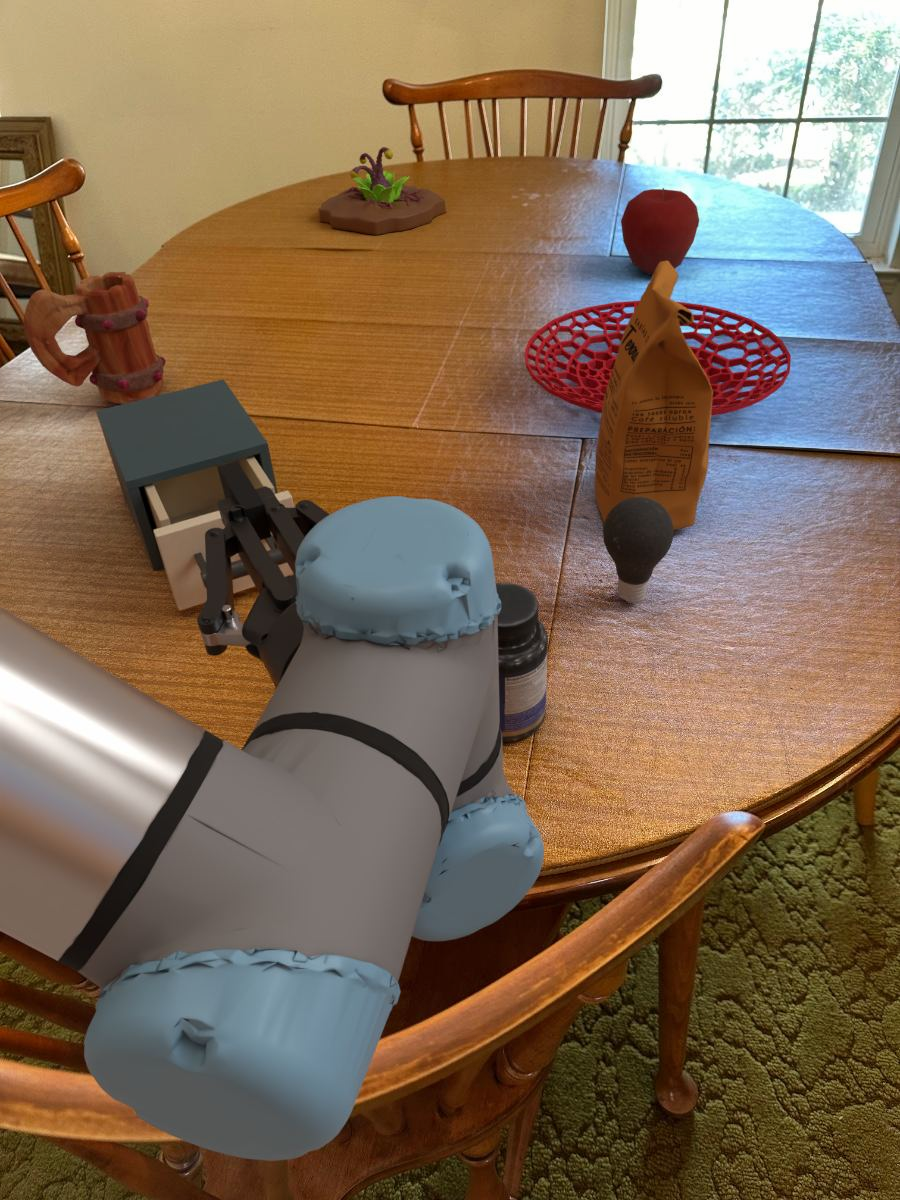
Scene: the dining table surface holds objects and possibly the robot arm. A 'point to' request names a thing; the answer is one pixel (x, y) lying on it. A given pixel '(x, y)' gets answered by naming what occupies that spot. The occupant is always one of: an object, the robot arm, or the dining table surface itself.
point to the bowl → (726, 400)
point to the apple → (659, 228)
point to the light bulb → (637, 543)
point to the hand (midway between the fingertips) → (231, 479)
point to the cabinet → (177, 443)
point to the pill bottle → (520, 663)
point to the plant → (380, 202)
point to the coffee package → (655, 411)
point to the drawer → (200, 528)
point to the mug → (98, 337)
